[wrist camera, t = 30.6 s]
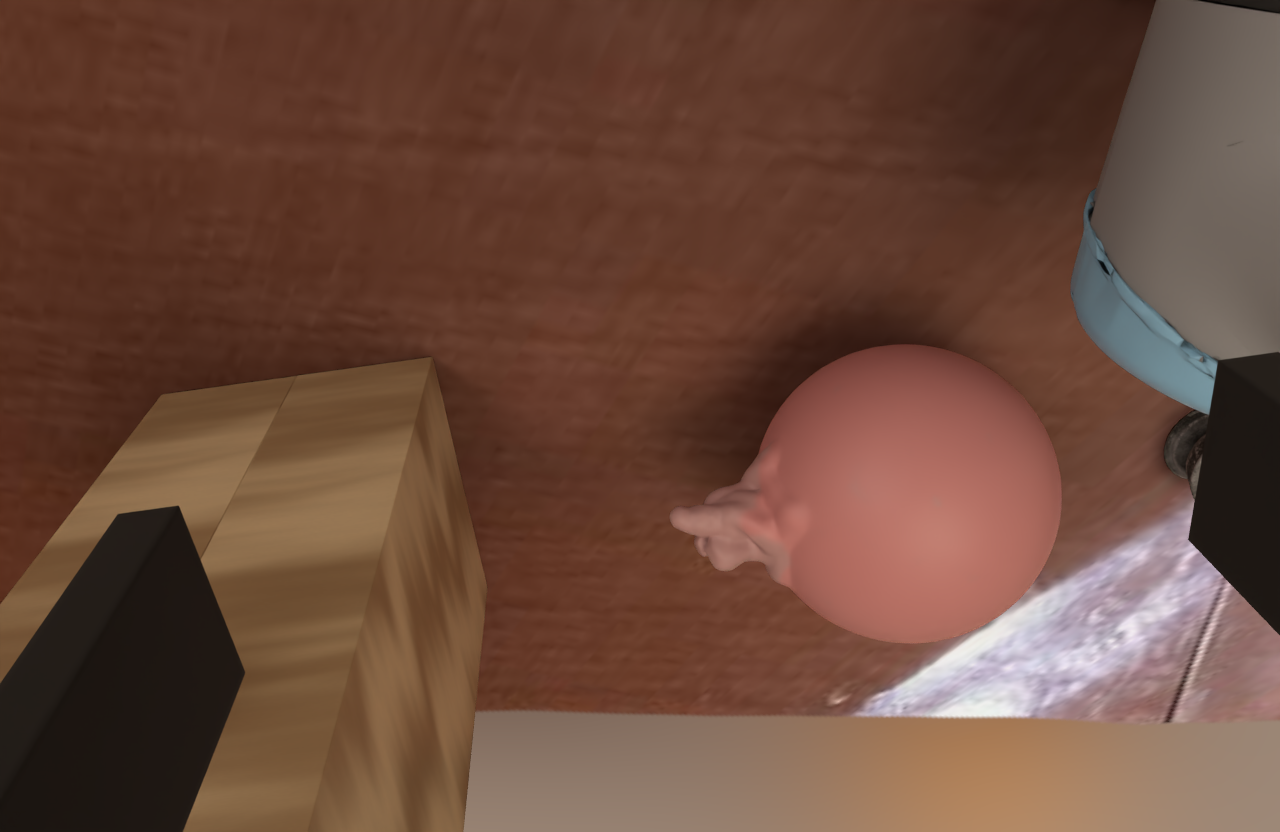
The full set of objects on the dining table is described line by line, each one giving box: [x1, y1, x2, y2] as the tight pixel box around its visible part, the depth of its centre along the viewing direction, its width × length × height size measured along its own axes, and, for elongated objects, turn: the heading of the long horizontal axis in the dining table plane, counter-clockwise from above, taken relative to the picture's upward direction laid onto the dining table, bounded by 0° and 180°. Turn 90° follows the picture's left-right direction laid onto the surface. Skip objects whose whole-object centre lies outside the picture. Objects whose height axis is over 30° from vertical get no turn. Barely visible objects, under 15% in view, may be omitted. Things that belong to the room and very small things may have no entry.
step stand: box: [0, 357, 487, 832], centre depth 43 cm, size 16×15×38 cm
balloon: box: [670, 344, 1062, 643], centre depth 53 cm, size 15×20×15 cm
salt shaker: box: [1164, 410, 1209, 499], centre depth 57 cm, size 6×6×12 cm
